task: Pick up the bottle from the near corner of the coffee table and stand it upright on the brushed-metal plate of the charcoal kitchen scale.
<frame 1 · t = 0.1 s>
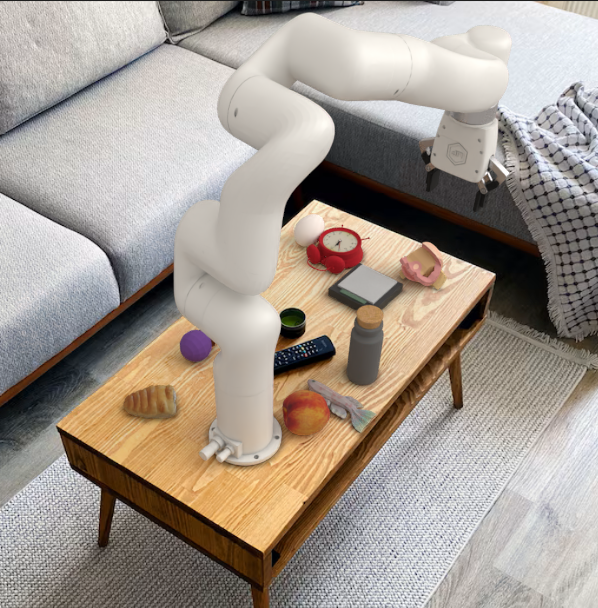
hand: (454, 198, 141), 25 cm above the table, tool pointing down, fingers open, 9 cm apart
scale: (365, 293, 162), on the table
bottle: (361, 374, 147), on the table
fish: (328, 412, 140), point 1 cm above the table
egg: (297, 244, 172), point 1 cm above the table
fruit: (315, 395, 137), point 4 cm above the table
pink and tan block: (421, 282, 165), on the table
kendama: (220, 337, 153), on the table
pastry: (155, 408, 141), on the table
alarm clock: (334, 259, 170), on the table
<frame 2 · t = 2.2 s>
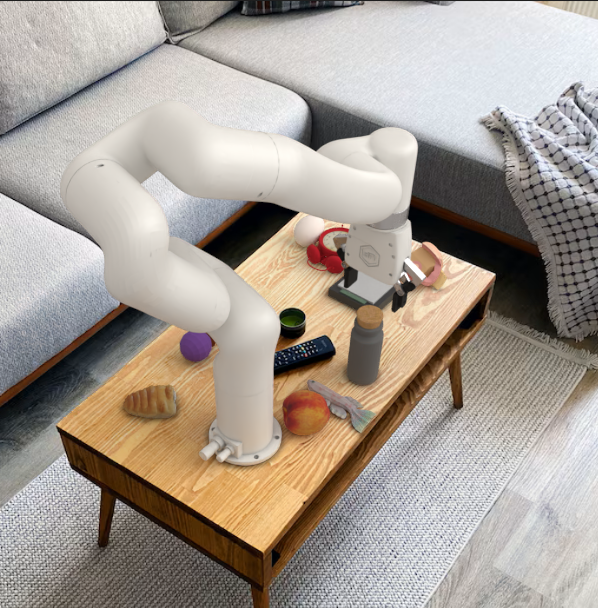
hand: (373, 295, 133), 19 cm above the table, tool pointing down, fingers open, 9 cm apart
nothing on the table moved.
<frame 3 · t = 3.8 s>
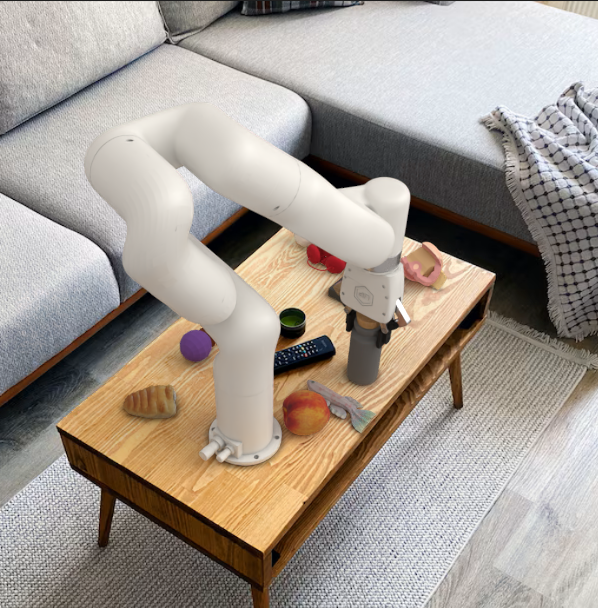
hand: (367, 335, 139), 10 cm above the table, tool pointing down, fingers closed on bottle, 5 cm apart
bottle: (361, 375, 147), on the table, touching gripper
everything else where it was.
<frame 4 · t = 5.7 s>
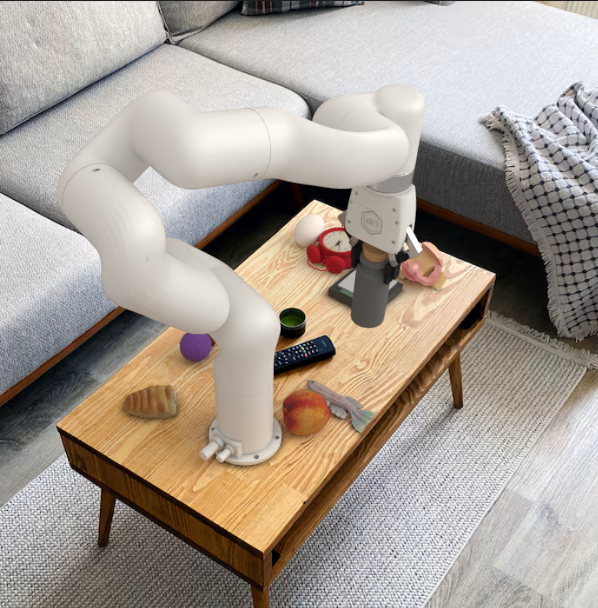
hand: (373, 271, 129), 24 cm above the table, tool pointing down, fingers closed on bottle, 5 cm apart
bottle: (367, 318, 136), point 14 cm above the table, touching gripper
everything else where it was.
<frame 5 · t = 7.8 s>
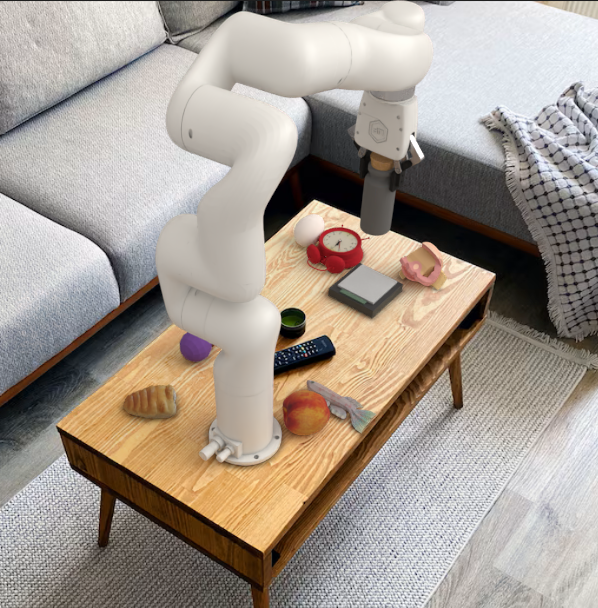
hand: (380, 181, 142), 27 cm above the table, tool pointing down, fingers closed on bottle, 5 cm apart
bottle: (374, 227, 149), point 17 cm above the table, touching gripper
everything else where it was.
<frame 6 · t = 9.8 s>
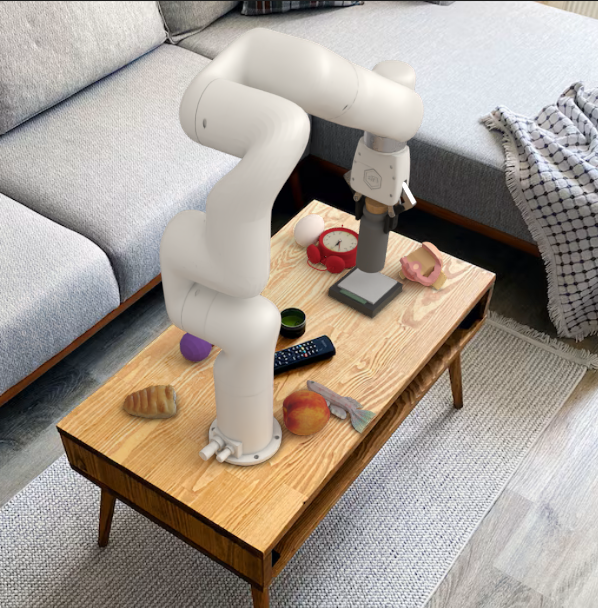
hand: (375, 222, 150), 17 cm above the table, tool pointing down, fingers closed on bottle, 5 cm apart
bottle: (369, 265, 157), point 7 cm above the table, touching gripper
everything else where it was.
when the fingers open (12 cm above the table, at t = 11.4 s): bottle stays where it is, resting on scale.
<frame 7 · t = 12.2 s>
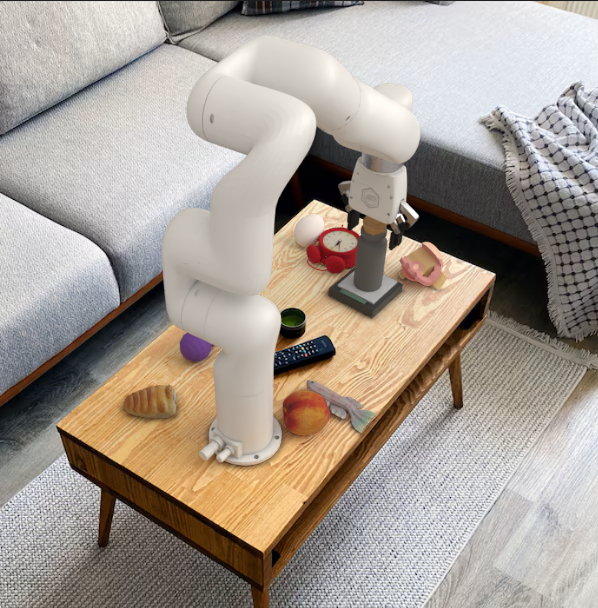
hand: (373, 236, 152), 14 cm above the table, tool pointing down, fingers open, 9 cm apart
bottle: (367, 283, 161), point 2 cm above the table, touching scale
everything else where it was.
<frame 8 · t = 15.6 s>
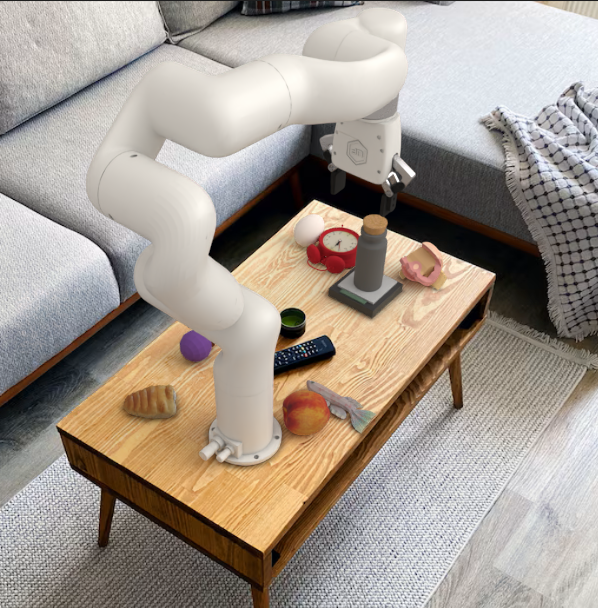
hand: (361, 201, 128), 32 cm above the table, tool pointing down, fingers open, 9 cm apart
nothing on the table moved.
at the end: bottle inside the target area on the scale (0.1 cm from its centre), point 2.3 cm above the scale's base; bottle tilted 0°; the gripper is holding nothing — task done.
